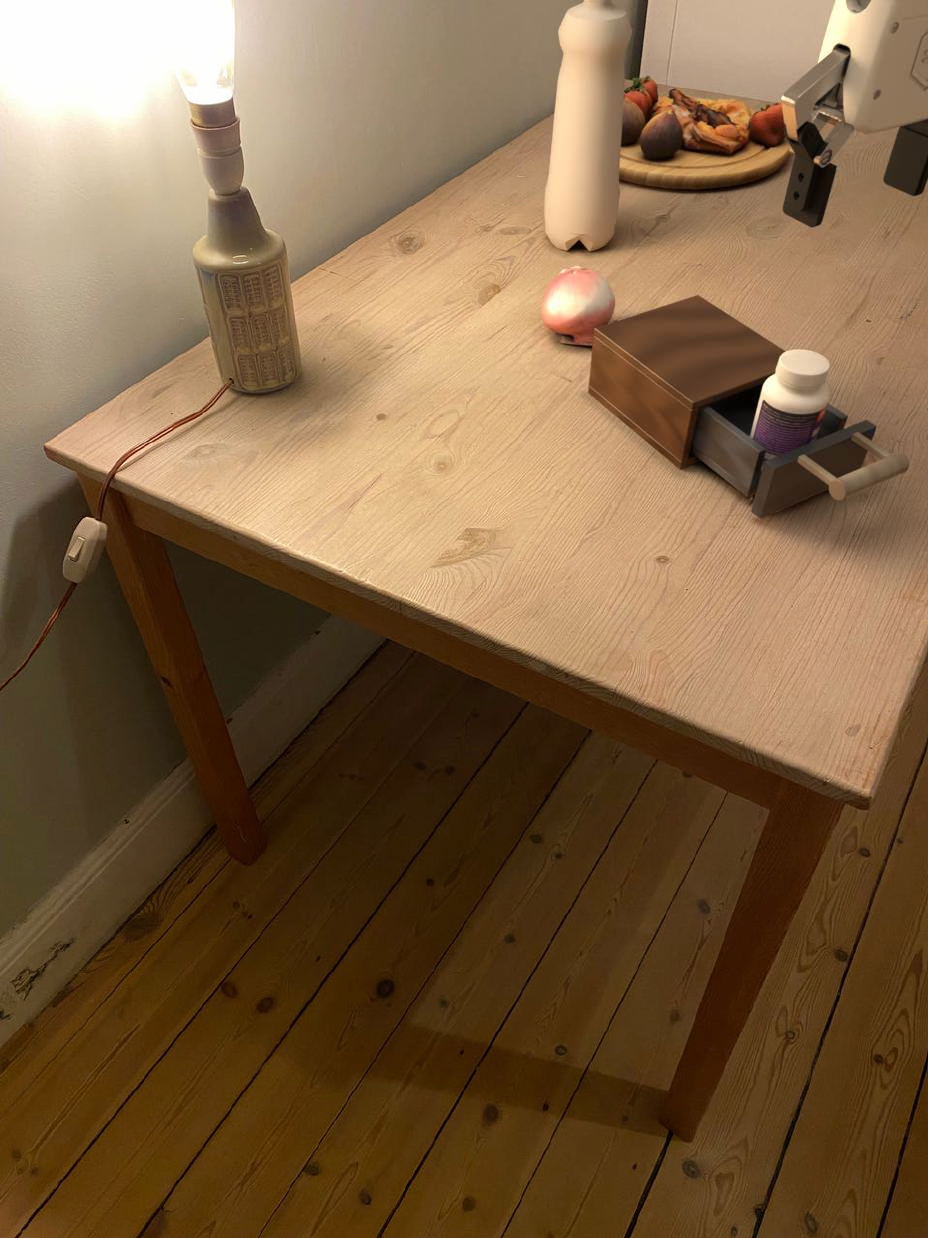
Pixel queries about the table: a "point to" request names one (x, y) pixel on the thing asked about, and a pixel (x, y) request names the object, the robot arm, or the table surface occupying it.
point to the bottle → (587, 126)
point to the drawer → (789, 456)
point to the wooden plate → (697, 140)
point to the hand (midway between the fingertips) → (852, 203)
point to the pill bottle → (791, 403)
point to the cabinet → (675, 369)
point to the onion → (577, 305)
